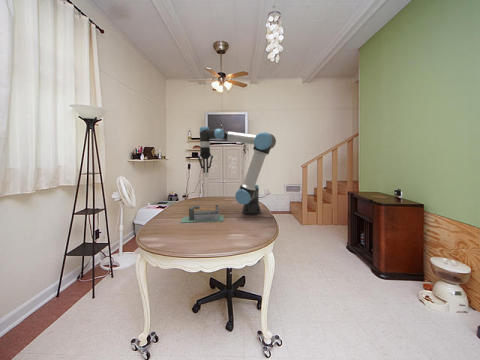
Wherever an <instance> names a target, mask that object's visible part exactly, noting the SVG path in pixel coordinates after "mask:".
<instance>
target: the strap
mask: <svg viewBox="0 0 480 360" xmlns="http://www.w3.org/2000/svg"><path fill="white" fill-rule="evenodd" d="M197 210H213V211H216V209H215V207H211V208H210V207H200V208H195V209H194V211H197Z"/></svg>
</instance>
